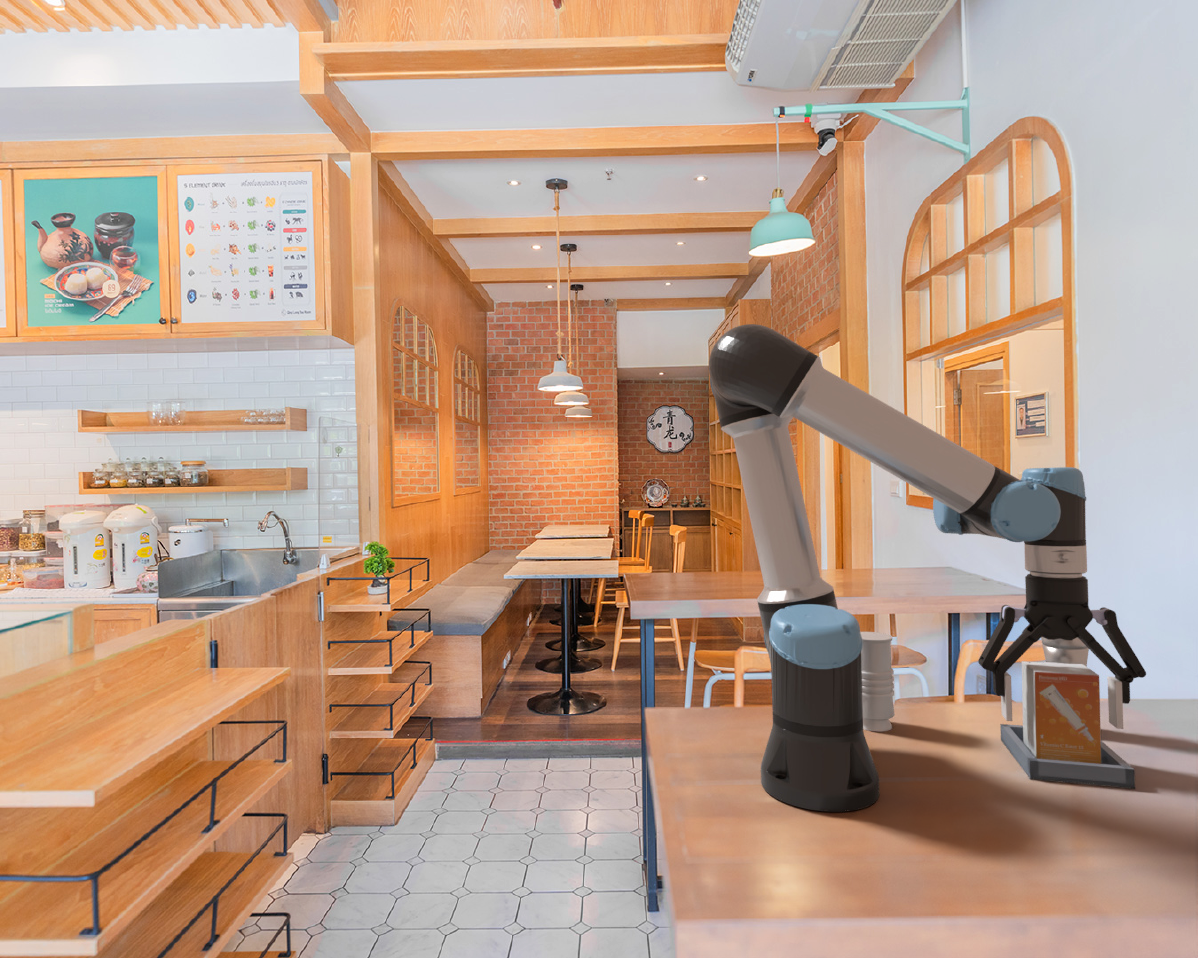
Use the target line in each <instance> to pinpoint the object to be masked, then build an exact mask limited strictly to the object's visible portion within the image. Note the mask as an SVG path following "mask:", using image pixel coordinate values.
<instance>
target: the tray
mask: <svg viewBox="0 0 1198 958" xmlns="http://www.w3.org/2000/svg"><path fill="white" fill-rule="evenodd" d="M999 726H1000V727H999V728H1000V741H1001V742H1002V744H1003V745H1004V746H1005V748H1006V749H1007V750H1008V752H1009V753H1010V754H1011V756H1013V758H1014V759H1015V761H1016V762H1017V764H1018V765H1019V766H1020V767H1021V770H1023V771H1024V773H1025V774H1026V775H1027V777H1028V778H1029V779H1030V780H1033V781H1034V780H1036V781H1045V782H1058V783H1068V784H1080V785H1091V786H1102V787H1111V788H1112V787H1113V788H1123V789H1124V788H1125V789H1136V781H1135V780H1136V777H1135V775H1136V774H1135V768H1133V766H1131V765H1130V764H1129V763H1128V762H1126V760H1124V759H1123V758H1122V757H1121V756H1120V755H1119V754H1117V752H1115V751H1114V750H1113V749H1111V747H1109V746H1108V745H1107V744H1106V743H1105V742H1103V741H1102V740H1101V764H1095V763H1083V762H1071V761H1059V760H1047V759H1036V758H1035V757H1034V756H1033V755H1032V753H1031V752H1030V751H1029V750H1028V749H1027V747H1026V746H1025V745H1024V740H1023V724H1022V725H1019V724H1009V723H1008V724H1007V723H1006V724H1004V723H1000V725H999Z"/></svg>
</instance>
